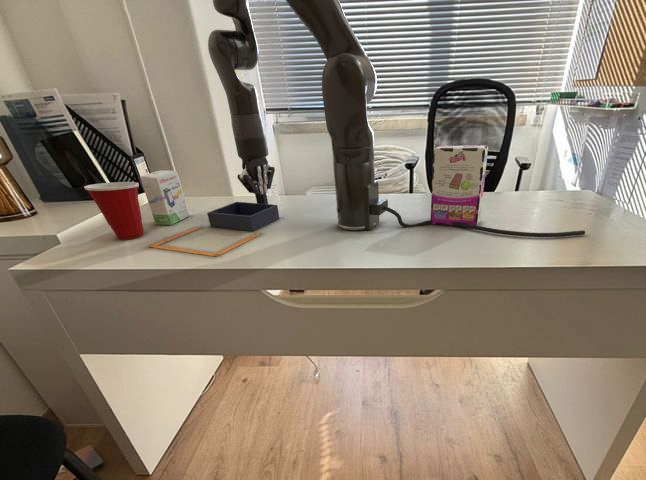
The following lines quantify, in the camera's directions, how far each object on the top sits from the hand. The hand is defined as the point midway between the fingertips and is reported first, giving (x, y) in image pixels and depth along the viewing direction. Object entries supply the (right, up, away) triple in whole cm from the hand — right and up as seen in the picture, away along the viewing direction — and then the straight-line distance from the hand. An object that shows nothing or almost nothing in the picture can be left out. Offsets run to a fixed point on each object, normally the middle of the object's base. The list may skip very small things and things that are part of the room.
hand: (263, 207), depth 104 cm
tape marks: (-9, -13, -16) cm, 22 cm away
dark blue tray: (-3, -6, -5) cm, 8 cm away
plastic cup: (-29, -11, -10) cm, 33 cm away
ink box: (-24, -4, -1) cm, 24 cm away
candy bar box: (+49, -8, -12) cm, 51 cm away
